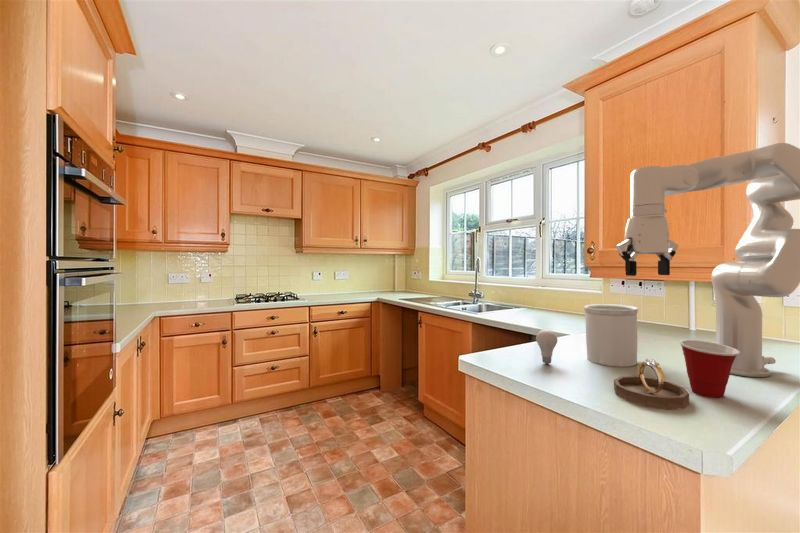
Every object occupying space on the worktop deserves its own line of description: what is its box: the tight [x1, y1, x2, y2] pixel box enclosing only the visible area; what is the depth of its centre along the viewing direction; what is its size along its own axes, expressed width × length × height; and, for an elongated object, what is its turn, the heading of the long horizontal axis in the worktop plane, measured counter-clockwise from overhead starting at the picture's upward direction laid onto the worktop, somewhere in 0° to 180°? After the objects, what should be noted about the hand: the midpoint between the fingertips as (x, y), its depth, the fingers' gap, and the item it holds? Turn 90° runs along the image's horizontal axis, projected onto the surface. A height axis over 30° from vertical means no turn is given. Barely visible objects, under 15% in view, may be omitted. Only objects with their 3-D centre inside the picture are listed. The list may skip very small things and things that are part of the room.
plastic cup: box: [679, 339, 740, 399], centre depth 82 cm, size 11×11×12 cm
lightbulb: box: [535, 329, 558, 365], centre depth 107 cm, size 6×6×11 cm
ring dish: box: [613, 375, 690, 411], centre depth 81 cm, size 14×14×2 cm
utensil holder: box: [583, 303, 639, 368], centre depth 110 cm, size 15×15×18 cm
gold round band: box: [637, 358, 665, 393], centre depth 82 cm, size 7×3×8 cm, turn 176°
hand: (647, 275), depth 94 cm, fingers open, 9 cm apart
